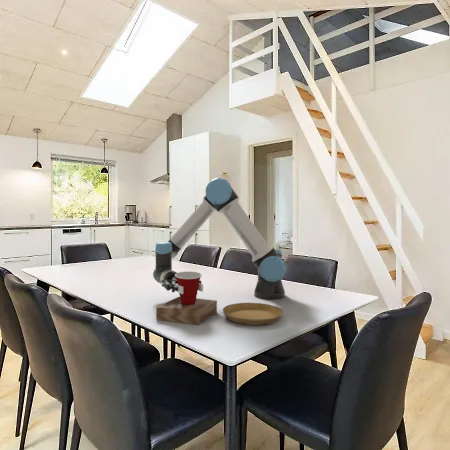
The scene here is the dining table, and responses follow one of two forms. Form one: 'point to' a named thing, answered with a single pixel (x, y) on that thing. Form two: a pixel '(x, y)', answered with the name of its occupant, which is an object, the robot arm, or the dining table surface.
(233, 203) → the robot arm
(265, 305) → the plant saucer
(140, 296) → the dining table surface
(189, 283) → the plastic cup
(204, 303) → the walnut podium
